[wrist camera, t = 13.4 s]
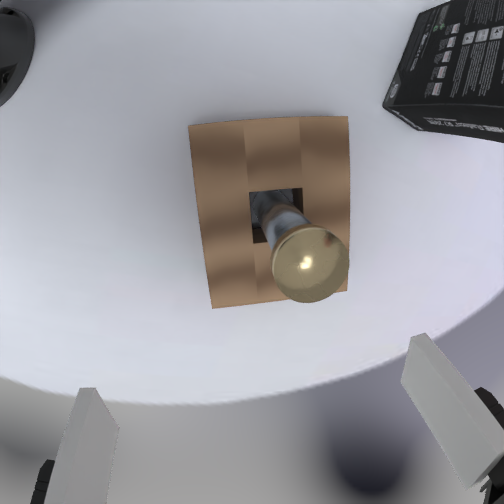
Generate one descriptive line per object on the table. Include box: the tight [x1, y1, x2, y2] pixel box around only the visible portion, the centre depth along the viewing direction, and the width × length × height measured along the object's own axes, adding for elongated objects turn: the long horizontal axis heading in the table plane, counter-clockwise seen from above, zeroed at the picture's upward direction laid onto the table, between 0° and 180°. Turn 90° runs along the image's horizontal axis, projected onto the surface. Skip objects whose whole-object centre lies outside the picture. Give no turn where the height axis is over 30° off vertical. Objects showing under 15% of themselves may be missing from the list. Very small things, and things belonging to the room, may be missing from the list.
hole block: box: [188, 116, 350, 309], centre depth 35 cm, size 20×16×5 cm
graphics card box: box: [383, 0, 504, 143], centre depth 20 cm, size 17×7×27 cm, turn 157°
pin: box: [253, 190, 349, 303], centre depth 29 cm, size 5×5×18 cm
